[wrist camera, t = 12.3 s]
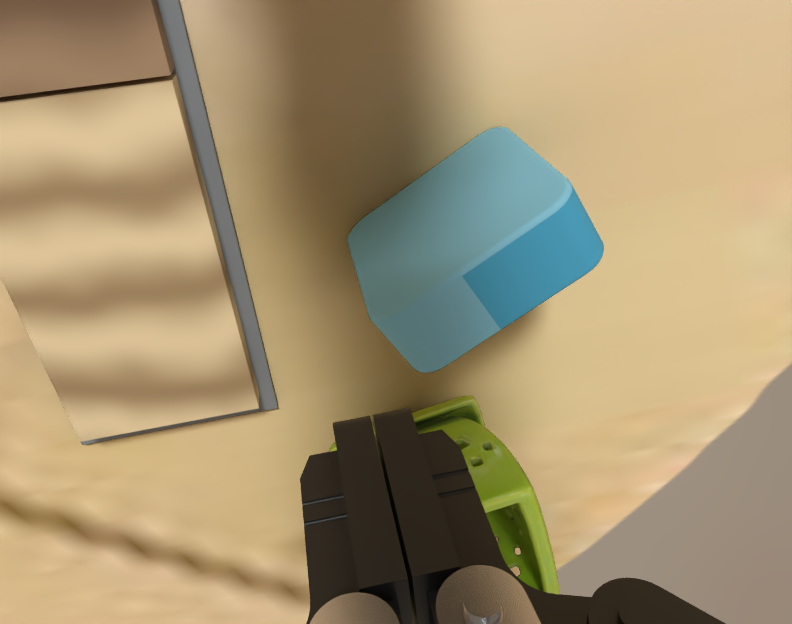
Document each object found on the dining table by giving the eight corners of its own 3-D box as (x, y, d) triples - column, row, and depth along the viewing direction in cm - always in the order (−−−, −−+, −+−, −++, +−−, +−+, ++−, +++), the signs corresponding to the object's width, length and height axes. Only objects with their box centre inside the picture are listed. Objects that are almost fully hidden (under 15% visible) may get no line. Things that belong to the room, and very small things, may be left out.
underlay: (-202, -157, 27) (-209, -158, 27) (134, -185, 29) (132, -187, 29) (83, 440, 46) (82, 445, 46) (277, 403, 48) (277, 408, 48)
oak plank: (-62, 103, 33) (-79, 114, 31) (176, 73, 34) (172, 81, 33) (86, 422, 45) (80, 441, 43) (258, 390, 46) (259, 408, 45)
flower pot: (361, 531, 57) (386, 672, 47) (306, 423, 50) (321, 563, 39) (509, 479, 57) (567, 608, 47) (477, 363, 50) (539, 486, 39)
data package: (381, 277, 44) (419, 385, 34) (342, 230, 42) (371, 331, 32) (530, 174, 42) (617, 256, 32) (498, 118, 40) (581, 188, 30)
